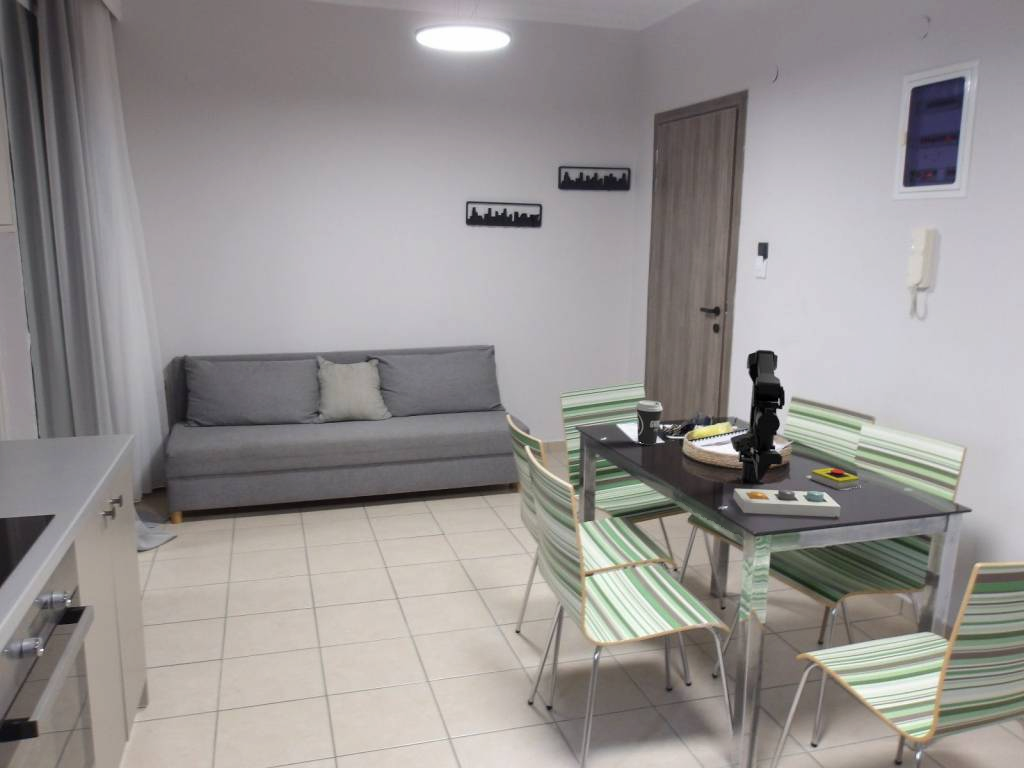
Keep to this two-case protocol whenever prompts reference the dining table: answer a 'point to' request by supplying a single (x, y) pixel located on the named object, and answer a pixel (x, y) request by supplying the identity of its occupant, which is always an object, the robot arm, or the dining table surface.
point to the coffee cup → (648, 421)
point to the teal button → (815, 496)
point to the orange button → (757, 495)
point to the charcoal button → (786, 495)
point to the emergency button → (835, 478)
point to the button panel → (785, 504)
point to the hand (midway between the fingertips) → (759, 479)
